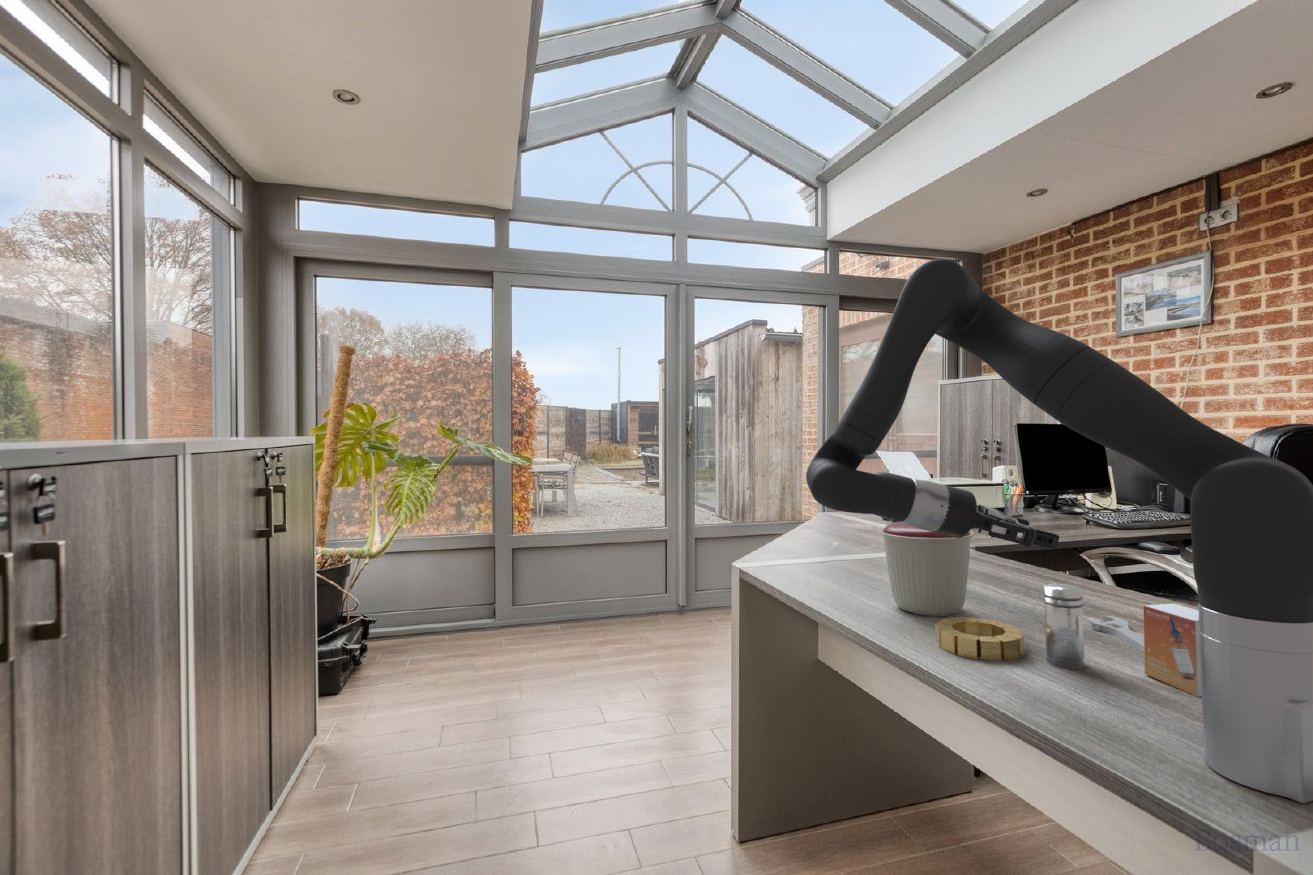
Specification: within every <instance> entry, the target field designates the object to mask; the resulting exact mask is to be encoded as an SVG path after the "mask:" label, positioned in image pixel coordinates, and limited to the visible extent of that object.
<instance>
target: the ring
mask: <svg viewBox="0 0 1313 875" xmlns="http://www.w3.org/2000/svg"><path fill="white" fill-rule="evenodd" d="M934 627H935V634H934V635H935V643H936V644H937V645H938V647H939V648H941V649H942V650H944V651H947V652H948V653H951V654H953V655H956V654H957V656H960V657H965V658H970V659H974V660H975V659H976V660H978V659H981V660H984V661H1003V660H1004V661H1009V660H1014V659H1019V657H1020V658H1022V656H1023V655H1024V653H1026V651H1025V650H1026V649H1025V648H1026V647H1025V646H1026V645H1025V633H1024V632H1023V631H1022V630H1021V629H1020V628H1019V627H1016V626H1015V625H1012V624H1009V623H1006V622H1003V621H998V620H994V619H988V618H987V619H986V618H982V617H980V618H977V617H965V616H963V617H960V616H959V617H950V618H943V619H940V620H939V621H937V622H936V623H934Z"/></svg>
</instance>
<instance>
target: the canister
mask: <svg viewBox="0 0 1313 875" xmlns="http://www.w3.org/2000/svg"><path fill="white" fill-rule="evenodd" d="M879 533H880V534H881V535H882V536H883V544H884V551H885V556H886V565H887V571H888V576H889V582H890V588H891V592H892V598H893V601H894V603H896V605H897V607H899V608H900V609H901V610H903V611H904V612H908V613H912V614H915V615H921V616H928V617H929V616H932V617H941V616H943V617H944V616H949V615H950V616H951V615H954V614H957V613H959V612H960V611H961V610H962V609H963V608H964V605H965V601H966V596H967V586H968V580H969V578H968V576H969V565H970V552H971V539H972V538H974V536H975V532H974V531H972V530H970V531H969V532H968V534H967V535H965V536H964V537H962V538H955V537H951V536H947V535H943V534H940V533H936V532H932V531H928V530H924V529H920V528H916V527H913V526H911V525H908V524H906V523H903V522H899V521H896V522H891V523H889V524H887V525H886V526H885V527H883V528H881V529H880V530H879Z"/></svg>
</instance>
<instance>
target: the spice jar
mask: <svg viewBox="0 0 1313 875" xmlns="http://www.w3.org/2000/svg"><path fill="white" fill-rule="evenodd" d="M1083 596H1084V595H1083V588H1082V587H1080V586H1076V585H1074V584H1073V585H1072V584H1067V583H1047V584H1044V585H1043V603H1044V627H1045V628H1044V629H1045V651H1046V652H1045V653H1046V655H1045V656H1046V658H1045V659H1046V662H1047V664H1049V665H1051V666H1054V667H1057V668H1061V669H1066V670H1081V669H1084V668H1086V663H1085V662H1086V660H1085V657H1086V656H1085V633H1084V609H1083V608H1084V607H1083V606H1084V603H1083V599H1084V597H1083Z"/></svg>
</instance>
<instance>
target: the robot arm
mask: <svg viewBox="0 0 1313 875" xmlns="http://www.w3.org/2000/svg"><path fill="white" fill-rule="evenodd" d="M935 335H937V336H939V337H941V338H942V339H944V340H946V341H949V342H950V343H952V344H954V345H956V346H957V347H959V348H962V350H965V351H967V352H969V353H970V354H972V355H973V356H975V357H977V358H978V359H979V360H981V361H983V362H984V363H985V364H986V365H988V366H989V367H990V368H991V369H992V370H993V371H995V373H996V374H997V375H998V376H999V377H1001V378H1002V379H1003V380H1004V382H1006V383H1007V384H1008V385H1009V386H1010V387H1012V388H1013V389H1014V390H1015V391H1017V392H1018V393H1019V394H1020V395H1021V396H1023V397H1024V398H1025V399H1027V400H1028V401H1029V402H1030V403H1032V404H1033V405H1035V406H1036V407H1037V408H1039V409H1040V410H1041V411H1043V412H1044V413H1046V414H1047V415H1049V416H1050V417H1051V418H1053V419H1054V420H1056V421H1058V422H1059V423H1060V424H1062V425H1064V426H1065V427H1067V428H1068V429H1070V430H1072V431H1074V432H1075V433H1078V434H1080V435H1081V436H1083V437H1085V438H1087V439H1089V440H1091V441H1093V442H1095V443H1097V444H1099V445H1101V446H1103V447H1105V448H1108V449H1110V450H1112V451H1114V452H1117V453H1119V454H1120V455H1122V456H1124V457H1127V458H1128V459H1131V460H1133V461H1134V462H1137V463H1139V464H1140V465H1141V466H1144V467H1145V468H1146V469H1148V470H1150V471H1151V472H1153V473H1154V474H1156V476H1157V475H1158V477H1160V478H1161V479H1163V480H1164V481H1165V482H1167V483H1168V484H1169V485H1170V486H1172V487H1173V488H1174V489H1175V490H1177V491H1178V492H1179V493H1181V494H1182V495H1183V496H1184V497H1186V498H1187V499H1188V500H1189V504H1190V505H1189V508H1190V509H1189V512H1190V534H1191V536H1190V537H1191V548H1192V549H1191V550H1192V568H1193V569H1192V570H1193V576H1194V580H1195V582H1196V589H1197V601H1198V603H1197V604H1198V605H1197V606H1198V610H1199V636H1200V661H1201V687H1202V696H1201V705H1202V706H1201V707H1202V709H1201V710H1202V726H1203V728H1202V729H1203V737H1202V740H1203V742H1202V743H1203V747H1204V761H1205V763H1206V764H1207V766H1208V767H1210V768H1211V769H1212V770H1213V771H1215V772H1216V773H1218V774H1219V775H1221V776H1223V777H1225V778H1226V779H1229V780H1231V781H1233V782H1236V783H1238V784H1240V785H1242V786H1244V787H1245V786H1246V787H1248V788H1250V789H1253V790H1254V789H1255V790H1257V791H1261V792H1264V793H1268V794H1272V795H1277V796H1282V797H1285V798H1288V799H1290V800H1294V801H1296V802H1298V803H1301V804H1306V803H1309V802H1313V483H1312V482H1311V481H1310V480H1309V478H1308V477H1307V476H1306V475H1305V474H1303V472H1301V471H1299V470H1298V469H1296V468H1295V467H1293V466H1292V465H1289V464H1287V463H1286V462H1283V461H1281V460H1278V459H1275V458H1273V457H1272V456H1269V455H1266V454H1264V453H1262V452H1261V451H1258V450H1256V449H1254V448H1252V447H1250V446H1247V445H1246V444H1244V443H1242V442H1239V441H1237V440H1236V439H1234V438H1232V437H1229V436H1227V435H1226V434H1224V433H1221V432H1220V431H1218V430H1216V429H1214V428H1212V427H1210V426H1209V425H1207V424H1205V423H1203V422H1201V421H1200V420H1198V419H1196V418H1195V417H1193V416H1192V415H1191V414H1189V413H1187V411H1185V410H1183V409H1182V408H1181V407H1179V406H1178V405H1177V404H1175V403H1174V402H1173V400H1170V399H1169V398H1168V397H1166V396H1165V395H1164V394H1162V392H1160V391H1158V390H1157V389H1156V388H1154V386H1151V385H1150V384H1149V383H1148V382H1146V381H1144V380H1143V379H1142V378H1140V377H1139V376H1137V375H1136V374H1134V373H1132V372H1131V371H1129V370H1128V369H1127V368H1125V367H1124V366H1122V365H1121V364H1120V363H1118V362H1117V361H1115V360H1112V359H1111V358H1110V357H1108V356H1107V355H1104V354H1103V353H1101V352H1100V351H1098V350H1096V349H1094V348H1092V347H1091V346H1089V345H1087V344H1086V343H1083V342H1082V341H1080V340H1078V339H1075V338H1073V337H1071V336H1069V335H1067V334H1064V333H1062V332H1059V331H1057V330H1054V329H1051V328H1048V327H1045V326H1042V325H1039V324H1036V323H1033V322H1031V321H1029V320H1026V319H1024V318H1022V317H1020V316H1019V315H1016V314H1015V313H1014V312H1012V311H1010V310H1009V309H1008V308H1007V307H1005V306H1004V305H1002V304H1001V303H1000V302H998V301H997V300H996V299H994V298H993V297H991V295H989V294H988V293H987V292H985V290H983V289H982V288H981V287H980V286H979V284H978V283H977V282H976V280H974V279H973V277H972V276H971V274H969V272H968V271H967V270H966V269H965V268H964V267H963V266H962V265H961V264H960V263H958V262H957V261H955V260H952V259H948V258H935V259H930V260H928V261H925V262H924V263H922V264H921V265H920V266H918V267H917V268H916V269H915V270H913V272H912V273H911V274H910V275H909V277H908V278H907V280H906V282H905V284H904V285H903V288H902V290H901V292H900V295H899V297H898V300H897V303H896V306H895V308H894V311H893V313H892V316H891V318H890V321H889V324H888V325H887V328H886V331H885V333H884V335H883V336H882V340H881V342H880V345H879V346H878V349H877V352H876V353H875V356H874V357H873V360H872V362H871V364H870V367H869V368H868V371H867V372H866V374H865V376H864V378H863V380H862V382H861V384H860V385H859V387H858V389H857V390H856V392H855V393H854V396H853V398H852V399H851V401H850V403H849V404H848V406H847V408H846V409H845V411H844V413H843V414H842V416H841V418H840V419H839V422H838V423H837V425H836V427H835V429H834V431H833V432H832V433H831V434H830V435H829V437H828V438H827V439H826V440H825V442H824V443H823V444H822V445H821V447H820V448H819V449H818V450H817V451H816V453H815V455H814V456H813V458H812V460H811V461H810V463H809V465H808V467H807V470H806V473H805V474H806V476H805V479H806V484H807V487H808V488H809V490H810V494H811V496H812V497H813V499H814V500H815V501H816V502H817V503H818V504H819V505H821V506H822V507H825V508H827V509H831V510H835V511H838V512H844V513H853V514H863V515H874V516H877V517H880V518H884V519H887V520H892V521H896V522H903V523H906V524H908V525H911V526H913V527H916V528H920V529H924V530H928V531H932V532H936V533H940V534H943V535H947V536H951V537H955V538H962V537H964V536H965V535H967V534H968V532H969V531H972V529H973V530H975V531H977V533H978V534H981V535H984V536H990V537H991V538H993V539H994V538H995V539H1000V540H1004V541H1007V542H1011V543H1015V544H1018V545H1022V546H1025V547H1030V548H1031V547H1032V546H1033V545H1036V546H1039V547H1042V548H1047V549H1050V550H1051V549H1052V550H1054V549H1056V548H1057V546H1058V543H1059V540H1060V536H1059V535H1058V534H1056V533H1054V532H1050V531H1046V530H1043V529H1037V528H1035V527H1033V526H1030V521H1029V520H1027V519H1024V518H1020V517H1016V516H1014V515H1013V516H1012V515H1008V514H1005V513H1003V512H1002V511H1000V510H998V509H996V508H993V507H989V506H986V505H984V504H979V503H977V499H976V496H975V494H974V493H973V492H971V491H970V490H966V489H962V488H958V487H954V486H950V485H946V484H941V483H938V482H934V481H931V480H930V481H929V480H925V479H917V478H911V477H908V476H903V475H900V474H895V473H891V472H885V471H883V472H881V471H879V472H875V473H872V472H868V471H863V470H858V468H859V466H860V465H861V464H862V462H863V460H864V459H865V457H867V456H871V455H873V454H874V453H875V452H877V450H878V449H879V448H880V446H881V444H882V443H883V441H884V440H885V438H886V436H887V435H888V433H889V432H890V429H891V428H892V427H893V425H894V423H895V421H896V420H897V418H898V416H899V414H900V412H901V410H902V408H903V405H904V404H905V400H906V397H907V394H908V390H909V389H910V384H911V381H912V378H913V376H914V372H915V369H916V367H917V365H918V362H919V361H920V359H921V356H922V354H923V352H924V351H925V349H926V347H927V346H928V344H929V343H930V341H931V340H932V339H933V337H934V336H935ZM1019 534H1022V535H1021V537H1020V536H1018V535H1019Z"/></svg>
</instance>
